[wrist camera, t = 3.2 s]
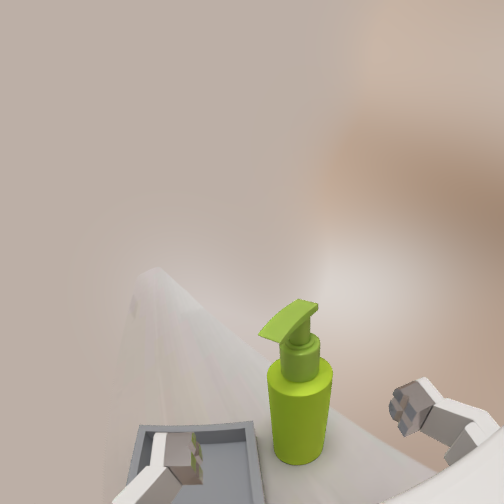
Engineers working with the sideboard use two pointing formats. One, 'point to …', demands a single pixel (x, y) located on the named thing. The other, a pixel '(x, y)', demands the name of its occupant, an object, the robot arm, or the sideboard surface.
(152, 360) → the sideboard surface
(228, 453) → the dish
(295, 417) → the soap dispenser
